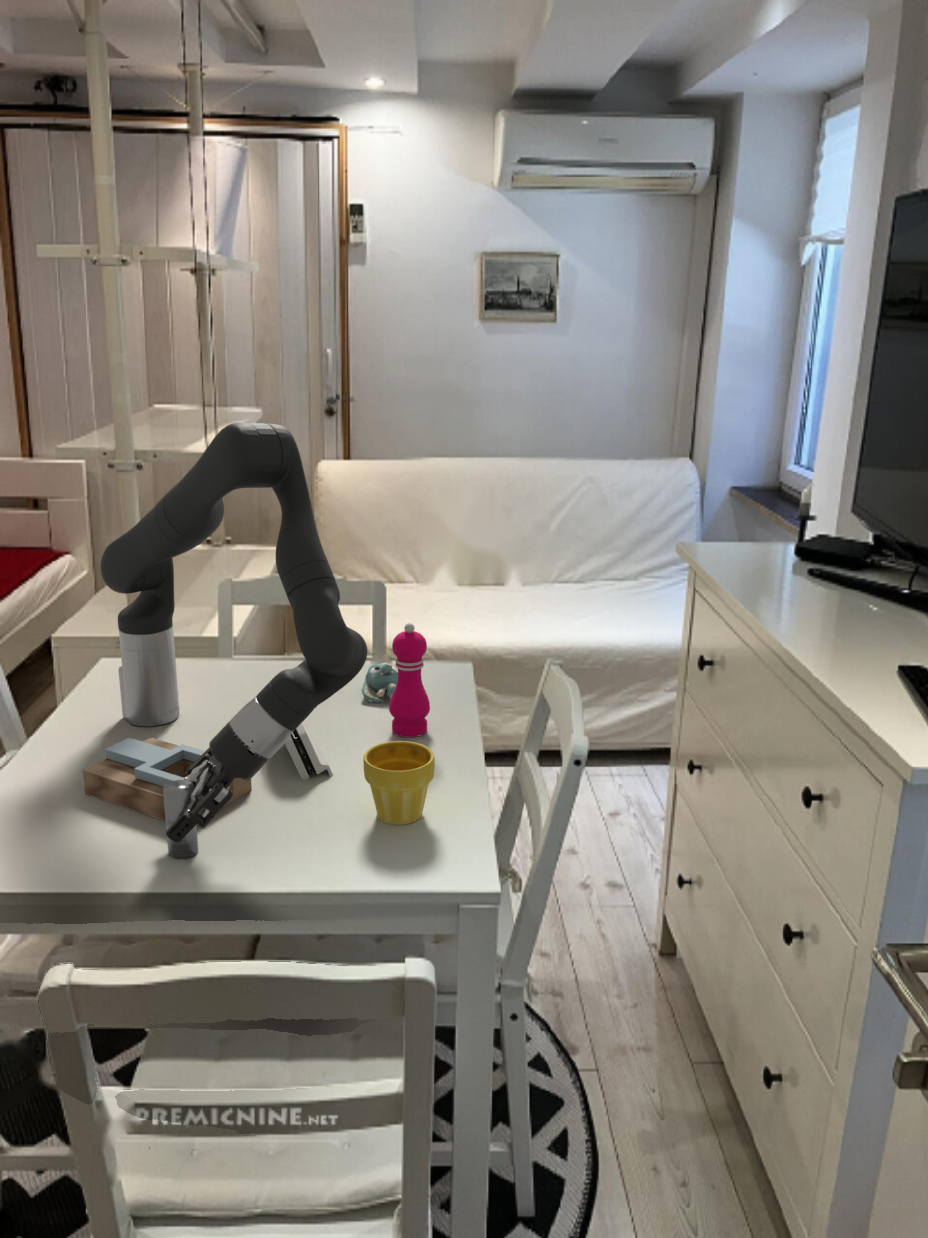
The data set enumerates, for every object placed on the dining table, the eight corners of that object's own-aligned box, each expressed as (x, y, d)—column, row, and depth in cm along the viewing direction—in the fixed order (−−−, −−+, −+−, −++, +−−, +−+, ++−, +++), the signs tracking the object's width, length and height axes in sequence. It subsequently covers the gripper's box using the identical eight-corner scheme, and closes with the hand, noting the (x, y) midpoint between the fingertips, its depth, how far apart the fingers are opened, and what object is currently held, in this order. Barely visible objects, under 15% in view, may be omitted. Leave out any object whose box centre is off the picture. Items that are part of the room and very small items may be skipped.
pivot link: (92, 764, 155) (91, 755, 154) (141, 740, 163) (140, 732, 163) (185, 793, 146) (184, 784, 146) (231, 767, 155) (231, 758, 154)
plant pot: (377, 838, 143) (376, 775, 140) (355, 805, 152) (354, 746, 149) (444, 824, 147) (445, 763, 144) (419, 793, 156) (419, 736, 153)
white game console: (333, 775, 162) (311, 724, 158) (306, 789, 161) (283, 737, 157) (310, 735, 177) (289, 687, 173) (285, 747, 175) (264, 699, 171)
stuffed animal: (376, 687, 185) (350, 655, 194) (373, 719, 188) (348, 687, 197) (428, 677, 190) (401, 647, 199) (424, 709, 193) (398, 678, 202)
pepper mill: (382, 734, 177) (381, 626, 171) (400, 719, 184) (399, 615, 178) (419, 741, 175) (419, 632, 169) (436, 726, 181) (437, 620, 175)
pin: (162, 854, 138) (156, 789, 135) (183, 841, 141) (177, 777, 138) (183, 862, 136) (178, 796, 133) (204, 849, 140) (199, 784, 137)
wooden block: (85, 793, 154) (82, 770, 153) (152, 759, 166) (150, 737, 165) (187, 828, 145) (185, 803, 144) (251, 789, 157) (250, 766, 155)
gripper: (228, 701, 142) (149, 784, 142) (235, 742, 129) (148, 833, 129) (267, 732, 145) (190, 813, 145) (278, 775, 132) (193, 864, 132)
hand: (171, 822), depth 137 cm, fingers open, 8 cm apart
